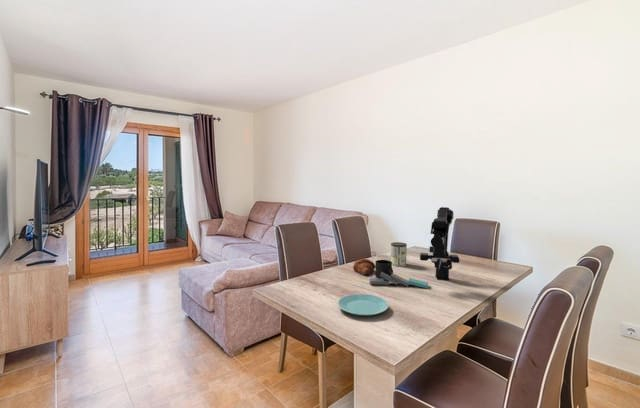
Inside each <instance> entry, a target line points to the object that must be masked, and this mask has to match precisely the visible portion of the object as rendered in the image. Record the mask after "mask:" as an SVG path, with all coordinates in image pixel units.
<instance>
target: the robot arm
mask: <svg viewBox="0 0 640 408" xmlns="http://www.w3.org/2000/svg"><path fill="white" fill-rule="evenodd" d="M436 216H437V217H436V218H434V219H433V221H432V222H431V229H430V235H433V237H432V238H431V239H430V244H431V245H430V246H429V247H428V248H429V249H428V250H429V253H431V255H429V254H428V253H427V252H425V253H424V252H420V253H419V260H420V261H424V262H425V261H429V260H430V261H431V263H433V264H434V268H435V278H436V280H440V281H441V280H443V281H450V270H453V269H452V268H453V263H455V264H456V263H457V264H459V263H460V256H458V255H457V254H449V253H448V244H449V232H450V231H449V229H450V226H451V224H452V223H453V220H454V210H452V209H450V208H449V207H448V206H447V207H444V206H443V207H439V209H437V215H436Z"/></svg>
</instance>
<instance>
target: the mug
mask: <svg viewBox="0 0 640 408" xmlns="http://www.w3.org/2000/svg"><path fill="white" fill-rule="evenodd" d="M374 271H375V272H374V273H375V274H374V275H375V278H383V277H381V276H380V274H381V272H383V273H385V274H387V275H389V276H391V274H392V273H393V274H394V269H393V265H392V262H391V260H389V259H378V260H375V269H374Z"/></svg>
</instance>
